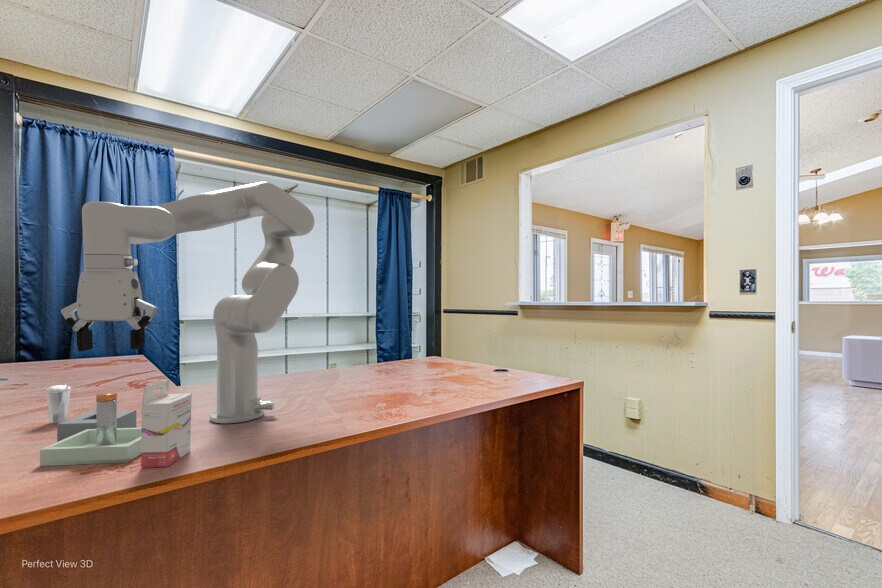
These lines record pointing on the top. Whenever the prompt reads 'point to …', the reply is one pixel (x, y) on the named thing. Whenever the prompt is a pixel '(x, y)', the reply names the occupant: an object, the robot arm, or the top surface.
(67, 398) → the milkshake
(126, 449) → the tray
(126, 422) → the socket block
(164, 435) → the ink cartridge box
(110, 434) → the pin
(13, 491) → the top surface
